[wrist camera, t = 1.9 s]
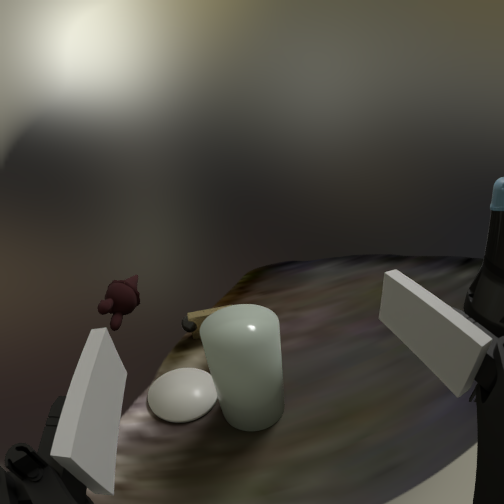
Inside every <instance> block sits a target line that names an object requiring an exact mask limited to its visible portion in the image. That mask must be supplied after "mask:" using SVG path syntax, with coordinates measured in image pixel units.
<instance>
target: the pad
mask: <svg viewBox="0 0 504 504" xmlns="http://www.w3.org/2000/svg"><path fill="white" fill-rule="evenodd" d="M217 399H218V396H217V392H216V389H215V386H214V382H213V379H212V376H211V375H210V374H209V373H207V372H205V371H203V370H200V369H196V368H180V369H176V370H172V371H170V372H167V373H165V374H164V375H162V376H160V377H159V378H158V379H157V380H156V381H155V382H154V383H153V384H152V386H151V387H150V389H149V392H148V403H149V406H150V408H151V409H152V411H153V412H154V414H155V415H157V416H158V417H159V418H161V419H163V420H165V421H169V422H174V423H184V422H190V421H193V420H196V419H198V418H200V417H202V416H204V415H205V414H207V413H208V412H209V411H210V410H211V409H212V408H213V407H214V405H215V404H216V402H217Z"/></svg>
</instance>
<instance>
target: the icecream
mask: <svg viewBox="0 0 504 504" xmlns="http://www.w3.org/2000/svg"><path fill="white" fill-rule="evenodd" d="M137 282H138V275H135V276H132V277H130V278H128V279H126V280H124V281H123V280H120V281H117V280H114V281H113V282H112V283H111V284H110V285H109V286H108V290H107V292H106V295H105V300H101V302H100V303H99V305H98V312H99V313H100V314H102V315H103V314H107V313H108V312H109V313H110V314H111V313H113V316H112V318H111V322H110V326H111V329H112V330H113V331H115V330H118V329H119V327H120V326H121V323H122V319H123V315H126V314H129V313H131V312H132V311H133V310H134V309H135V307H136V306H138V305H139V304H140V298H139V292H138V291H137Z"/></svg>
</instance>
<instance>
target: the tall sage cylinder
mask: <svg viewBox="0 0 504 504" xmlns="http://www.w3.org/2000/svg"><path fill="white" fill-rule="evenodd" d="M200 336H201V340H202V344H203V347H204V351H205V355H206V358H207V362H208V365H209V369H210V372H211V376H212V379H213V382H214V386H215V389H216V392H217V396H218V399H219V402H220V405H221V408H222V412H223V415H224V417H225V419H226V421H227V422H228V423H229V424H230V425H232V426H233V427H235V428H237V429H240V430H243V431H259V430H263V429H266V428H268V427H270V426H272V425H274V424H275V423H276V422H277V421H278V420H279V419H280V418H281V416H282V414H283V412H284V390H283V374H282V358H281V344H280V330H279V320H278V317H277V316H276V314H275V313H274V312H272V311H271V310H269V309H268V308H265V307H263V306H259V305H253V304H240V305H233V306H228V307H225V308H222V309H220V310H217V311H215V312H214V313H212V314H211V315H209V316H208V317H207V318H206V319H205V320H204V321H203V323H202V324H201V327H200Z"/></svg>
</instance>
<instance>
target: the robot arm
mask: <svg viewBox="0 0 504 504" xmlns="http://www.w3.org/2000/svg"><path fill="white" fill-rule="evenodd" d="M490 209H491V217H490V225H489V232H488V238H487V244H486V249H485V255H484V260H483V264H482V267H481V268H480V270H479V272H478V274H477V276H476V277H475V279H474V281H473V283H472V284H471V286H470V288H469V289H468V292H467V295H466V299H465V303H464V309H465V313H466V314H465V313H464V312H463V311H461V310H458V309H456V308H453V307H450V306H448V305H447V304H446V303H444V302H443V301H441V300H440V299H439V298H437V297H436V296H434V295H433V294H431V293H430V292H429V291H427V290H426V289H424V288H423V287H421V286H420V285H419V284H417V283H416V282H414V281H413V280H411V279H410V278H408V277H407V276H405V275H404V274H402V273H401V272H399V271H398V270H392V271H388V272H385V273H384V282H383V291H382V299H381V307H380V314H379V319H380V320H381V321H382V322H383V323H384V324H385V325H386V326H387V327H388V328H389V329H390V330H391V331H392V332H393V333H394V334H395V335H396V336H397V337H398V338H399V339H400V340H401V341H402V342H403V343H404V344H405V345H406V346H407V347H408V348H409V349H410V350H412V351H413V352H414V353H415V354H416V355H417V356H418V357H419V358H420V360H421V361H422V362H423V363H424V364H425V365H426V366H427V367H428V368H429V369H430V370H431V371H432V372H433V373H434V374H435V375H436V376H437V377H438V378H439V379H440V380H441V381H442V382H443V383H444V384H445V385H446V386H447V387H448V388H449V389H450V390H451V391H452V392H453V393H454V394H455V396H456V397H457V398H458V397H460V396H461V395H462V394H464V393H465V392H467V391H468V390H469V389H470V387H471V385H472V383H473V381H474V380H475V381H477V382H478V384H477V385H476V387H475V389H474V391H473V393H472V395H471V396H470V399H469V402H471V401H472V399H473V398H474V396H475V395H476V399H475V400H474V402H477V423H478V451H477V470H476V482H475V491H474V498H473V504H504V177H502V178H499V179H498V180H497V181H496V182H495V184H494V188H493V196H492V203H491V205H490ZM497 337H498V338H497ZM126 376H127V372H126V370H125V368H124V366H123V364H122V362H121V360H120V358H119V356H118V353H117V351H116V349H115V346H114V344H113V342H112V339H111V337H110V335H109V332H108V330H107V328H99V329H92V330H91V332H90V335H89V337H88V339H87V342H86V344H85V347H84V349H83V352H82V354H81V357H80V360H79V362H78V365H77V368H76V371H75V373H74V376H73V379H72V382H71V385H70V388H69V391H68V394H67V396H59V397H58V398H57V399H56V401H55V402H54V403H53V405H52V406H51V409H50V412H49V415H48V417H49V418H47V421H46V427H45V428H44V431H43V435H42V438H41V442H40V445H39V449H38V452H36V451H35V450H33V448H32V447H30V446H29V445H27V444H25V443H18V444H15V445H13V446H12V447H11V448H10V449H9V450H8V452H7V454H6V456H5V466H6V467H7V468H8V469H9V470H10V472H6V471H5V470H4V469H3V468H1V466H0V504H94V503H93V502H92V500H91V499H90V498H89V497H88V496H87V495H86V489H87V488H88V489H90V490H91V491H92V492H93V493H95V494H104V495H114V480H115V465H116V452H117V442H118V433H119V424H120V416H121V409H122V401H123V395H124V387H125V381H126Z"/></svg>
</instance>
